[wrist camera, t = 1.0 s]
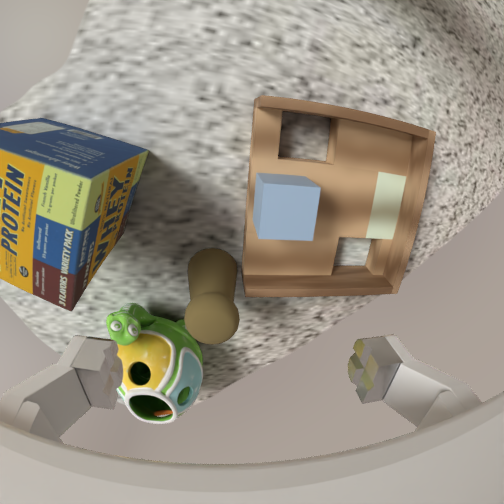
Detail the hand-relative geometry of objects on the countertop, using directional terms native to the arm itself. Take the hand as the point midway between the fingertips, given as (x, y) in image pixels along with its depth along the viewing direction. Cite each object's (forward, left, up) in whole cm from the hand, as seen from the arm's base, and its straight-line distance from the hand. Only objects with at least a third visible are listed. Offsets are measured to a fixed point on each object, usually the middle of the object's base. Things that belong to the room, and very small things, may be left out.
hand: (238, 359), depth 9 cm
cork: (+10, -1, -25) cm, 27 cm away
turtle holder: (+22, -9, -25) cm, 34 cm away
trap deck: (+1, +12, -25) cm, 27 cm away
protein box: (-1, -17, -25) cm, 30 cm away
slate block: (0, +6, -22) cm, 23 cm away
